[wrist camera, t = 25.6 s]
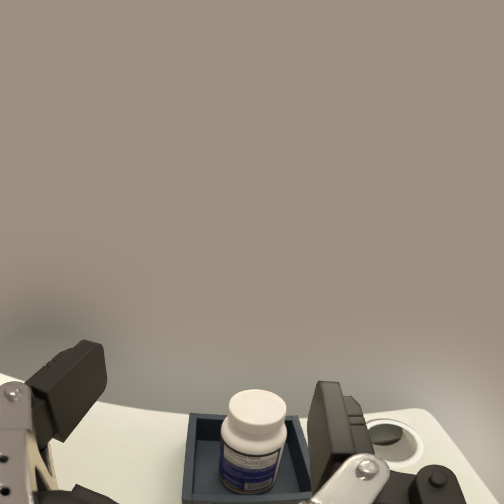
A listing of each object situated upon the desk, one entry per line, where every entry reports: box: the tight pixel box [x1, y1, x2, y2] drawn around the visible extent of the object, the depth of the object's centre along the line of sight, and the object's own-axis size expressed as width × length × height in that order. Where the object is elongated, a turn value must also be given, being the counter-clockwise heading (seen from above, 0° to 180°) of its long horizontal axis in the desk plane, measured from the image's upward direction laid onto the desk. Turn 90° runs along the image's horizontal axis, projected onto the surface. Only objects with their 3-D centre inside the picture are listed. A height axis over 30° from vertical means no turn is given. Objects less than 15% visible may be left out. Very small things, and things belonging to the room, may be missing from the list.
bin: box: [182, 413, 312, 504], centre depth 26 cm, size 12×12×4 cm
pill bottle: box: [219, 390, 287, 495], centre depth 25 cm, size 6×6×10 cm
